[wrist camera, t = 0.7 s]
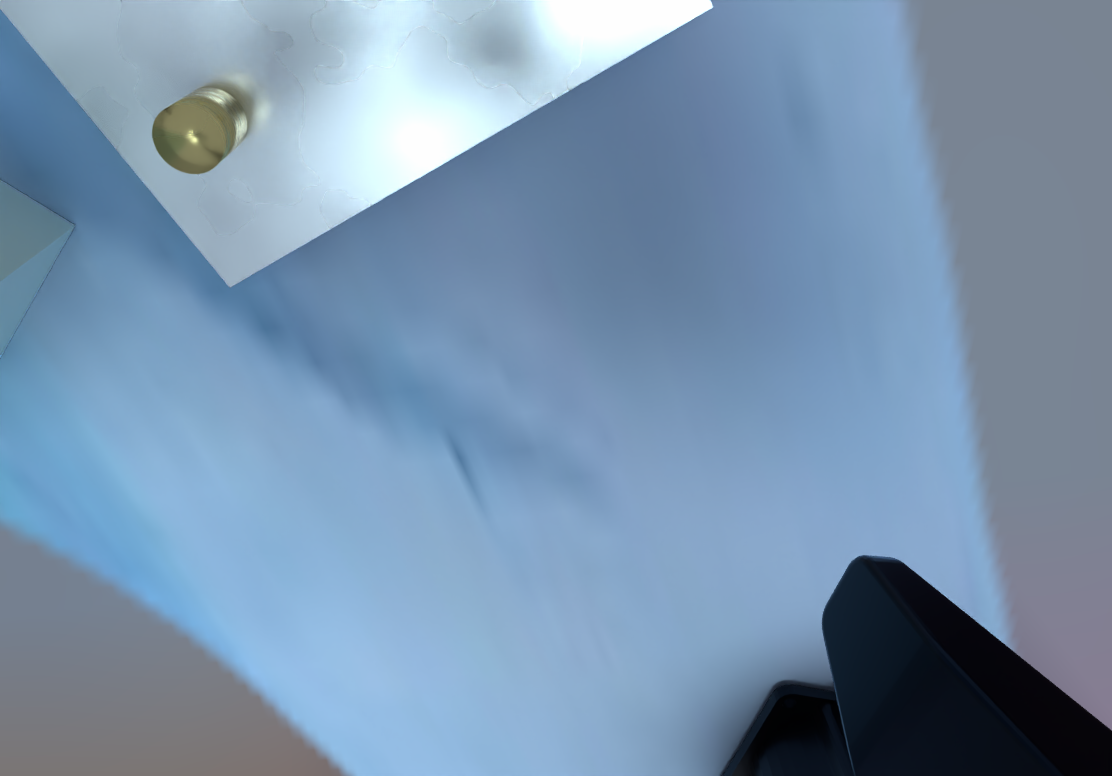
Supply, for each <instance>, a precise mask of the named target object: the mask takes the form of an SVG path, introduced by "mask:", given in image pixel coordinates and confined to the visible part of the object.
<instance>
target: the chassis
mask: <svg viewBox="0 0 1112 776" xmlns="http://www.w3.org/2000/svg"><path fill="white" fill-rule="evenodd" d="M711 8H713V5H712V3H711V1H710V0H0V9H1V10H2V11H3V13H4V14H5V15H6V16H7V17H8V19H9V20H10V21H11V22H12V24H13V25H14V26H15V27H16V28H17V30H18V31H19V32H20V33H21V35H22V36H23V37H24V38H25V39H26V41H27V42H28V43H29V44H30V45H31V47H32V48H33V49H34V50H35V52H36V53H37V54H38V55H39V56H40V58H41V59H42V60H43V61H44V62H45V64H46V65H47V66H48V67H49V69H50V70H51V71H52V72H53V73H54V75H55V76H56V77H57V78H58V79H59V81H60V82H61V83H62V84H63V86H64V87H65V88H66V89H67V90H68V92H69V93H70V94H71V95H72V96H73V98H74V99H75V100H76V101H77V103H78V104H79V105H80V106H81V107H82V109H83V110H84V111H85V112H86V114H87V115H88V116H89V117H90V118H91V120H92V121H93V122H94V123H95V124H96V126H97V127H98V128H99V129H100V131H101V132H102V133H103V134H104V135H105V137H106V138H107V139H108V140H109V141H110V143H111V144H112V145H113V146H114V148H115V149H116V150H117V151H118V152H119V154H120V155H121V156H122V157H123V158H124V160H125V161H126V162H127V163H128V165H129V166H130V167H131V168H132V169H133V171H134V172H135V173H136V174H137V175H138V177H139V178H140V179H141V180H142V182H143V183H144V184H145V185H146V186H147V188H148V189H149V190H150V191H151V192H152V194H153V195H154V196H155V197H156V199H157V200H158V201H159V202H160V203H161V205H162V206H163V207H164V208H165V210H166V211H167V212H168V213H169V214H170V216H171V217H172V218H173V219H174V220H175V222H176V223H177V224H178V225H179V227H180V228H181V229H182V230H183V231H184V233H185V234H186V235H187V236H188V237H189V239H190V240H191V241H192V242H193V244H194V245H195V246H196V247H197V248H198V250H199V251H200V252H201V253H202V254H203V256H204V257H205V258H206V259H207V261H208V262H209V263H210V264H211V265H212V267H213V268H214V269H215V270H216V271H217V273H218V274H219V275H220V276H221V278H222V279H223V280H224V281H225V282H226V284H227V285H228V286H229V287H232V286H234V285H235V284H237V283H239V282H240V281H242V280H244V279H246V278H247V277H249V276H251V275H253V274H254V273H256V272H258V271H259V270H261V269H263V268H265V267H266V266H268V265H270V264H272V263H273V262H275V261H277V260H278V259H280V258H282V257H284V256H285V255H287V254H289V253H290V252H292V251H294V250H296V249H297V248H299V247H301V246H303V245H304V244H306V243H308V242H309V241H311V240H313V239H315V238H316V237H318V236H320V235H322V234H323V233H325V232H327V231H328V230H330V229H332V228H334V227H335V226H337V225H339V224H340V223H342V222H344V221H346V220H347V219H349V218H351V217H353V216H354V215H356V214H358V213H359V212H361V211H363V210H365V209H366V208H368V207H370V206H371V205H373V204H375V203H377V202H378V201H380V200H382V199H384V198H385V197H387V196H389V195H390V194H392V193H394V192H396V191H397V190H399V189H401V188H403V187H404V186H406V185H408V184H409V183H411V182H413V181H415V180H416V179H418V178H420V177H421V176H423V175H425V174H427V173H428V172H430V171H432V170H434V169H435V168H437V167H439V166H440V165H442V164H444V163H446V162H447V161H449V160H451V159H453V158H454V157H456V156H458V155H459V154H461V153H463V152H465V151H466V150H468V149H470V148H471V147H473V146H475V145H477V144H478V143H480V142H482V141H484V140H485V139H487V138H489V137H490V136H492V135H494V134H496V133H497V132H499V131H501V130H503V129H504V128H506V127H508V126H509V125H511V124H513V123H515V122H516V121H518V120H520V119H521V118H523V117H525V116H527V115H528V114H530V113H532V112H534V111H535V110H537V109H539V108H540V107H542V106H544V105H546V104H547V103H549V102H551V101H552V100H554V99H556V98H558V97H559V96H561V95H563V94H565V93H566V92H568V91H570V90H571V89H573V88H575V87H577V86H578V85H580V84H582V83H584V82H585V81H587V80H589V79H590V78H592V77H594V76H596V75H597V74H599V73H601V72H602V71H604V70H606V69H608V68H609V67H611V66H613V65H615V64H616V63H618V62H620V61H621V60H623V59H625V58H627V57H628V56H630V55H632V54H634V53H635V52H637V51H639V50H640V49H642V48H644V47H646V46H647V45H649V44H651V43H652V42H654V41H656V40H658V39H659V38H661V37H663V36H665V35H666V34H668V33H670V32H671V31H673V30H675V29H677V28H678V27H680V26H682V25H684V24H685V23H687V22H689V21H690V20H692V19H694V18H696V17H697V16H699V15H701V14H702V13H704V12H706V11H708V10H709V9H711Z"/></svg>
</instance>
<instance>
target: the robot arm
mask: <svg viewBox="0 0 1112 776" xmlns="http://www.w3.org/2000/svg"><path fill="white" fill-rule="evenodd" d="M822 630H823V636H824V641H825V646H826V650H827V655H828V660H829V664H830V669H831V674H832V678H833V683H834V687H835V692H833V691H827V690H821V689H814V688H808V687H802V686H796V685H783V686H780V687H779V688H777V689H776V690H775V691H774V692H773V694H772V695H771V697H770V699H769V700H768V702H767V704H766V705H765V707H764V708H763V710H762V712H761V713H760V715H759V717H758V718H757V720H756V722H755V723H754V725H753V727H752V728H751V730H750V732H749V733H748V735H747V737H746V738H745V740H744V742H743V743H742V745H741V747H740V748H739V750H738V752H737V753H736V755H735V757H734V758H733V760H732V762H731V763H730V765H729V767H728V768H727V770H726V772H725V773H724V775H723V776H1112V731H1111V730H1110V729H1109V728H1108V727H1107V726H1105V725H1104V724H1103V723H1102V722H1100V721H1099V720H1098V719H1097V718H1095V717H1094V716H1093V715H1092V714H1090V713H1089V712H1088V711H1087V710H1086V709H1084V708H1083V707H1082V706H1081V705H1079V704H1078V703H1077V702H1076V701H1074V700H1073V699H1072V698H1070V697H1069V696H1068V695H1067V694H1066V693H1064V692H1063V691H1062V690H1061V689H1059V688H1058V687H1057V686H1056V685H1054V684H1053V683H1052V682H1051V681H1049V680H1048V679H1047V678H1046V677H1044V676H1043V675H1042V674H1041V673H1040V672H1038V671H1037V670H1036V669H1034V668H1033V667H1032V666H1031V665H1030V664H1028V663H1027V662H1026V661H1024V660H1023V659H1022V658H1021V657H1020V656H1018V655H1017V654H1016V653H1015V652H1013V651H1012V650H1011V649H1010V648H1008V647H1007V646H1006V645H1005V644H1003V643H1002V642H1001V641H1000V640H998V639H997V638H996V637H995V636H994V635H992V634H991V633H990V632H989V631H987V630H986V629H985V628H984V627H982V626H981V625H980V624H979V623H977V622H976V621H975V620H974V619H972V618H971V617H970V616H969V615H967V614H966V613H965V612H964V611H962V610H961V609H960V608H959V607H957V606H956V605H955V604H954V603H953V602H951V601H950V600H949V599H948V598H946V597H945V596H944V595H943V594H941V593H940V592H939V591H938V590H936V589H935V588H934V587H933V586H931V585H930V584H929V583H928V582H926V581H925V580H924V579H923V578H921V577H920V576H919V575H918V574H916V573H915V572H914V571H913V570H911V569H910V568H909V567H908V566H907V565H905V564H904V563H903V562H901V561H900V560H897V559H895V558H891V557H880V556H868V555H863V556H858V557H857V558H855V559H854V560H852V561H851V563H850V564H849V566H848V567H847V569H846V571H845V573H844V574H843V576H842V578H841V580H840V581H839V583H838V585H837V587H836V588H835V590H834V592H833V594H832V595H831V597H830V599H829V601H828V602H827V604H826V606H825V609H824V612H823V617H822Z"/></svg>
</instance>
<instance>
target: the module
mask: <svg viewBox="0 0 1112 776" xmlns="http://www.w3.org/2000/svg"><path fill="white" fill-rule="evenodd" d="M74 227H75V225H74V224H72V223H71V222H69V221H67V220H66V219H64V218H63V217H61V216H59V215H58V214H56V213H54V212H53V211H51V210H49V209H48V208H46V207H45V206H43V205H41V204H40V203H38V202H36V201H35V200H33V199H31V198H30V197H28V196H27V195H25V194H23V193H22V192H20V191H18V190H17V189H15V188H13V187H12V186H10V185H9V184H7V183H5V182H4V181H2V180H0V358H1V356H2V354H3V353H4V351H5V349H6V347H7V345H8V344H9V342H10V340H11V338H12V337H13V335H14V333H15V331H16V330H17V328H18V326H19V324H20V322H21V321H22V319H23V317H24V315H25V314H26V312H27V310H28V308H29V307H30V305H31V303H32V301H33V299H34V298H35V296H36V294H37V292H38V291H39V289H40V287H41V285H42V283H43V282H44V280H45V278H46V276H47V275H48V273H49V271H50V269H51V268H52V266H53V264H54V262H55V260H56V259H57V257H58V255H59V253H60V252H61V250H62V248H63V246H64V245H65V243H66V241H67V239H68V237H69V236H70V234H71V232H72V230H73V229H74Z"/></svg>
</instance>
